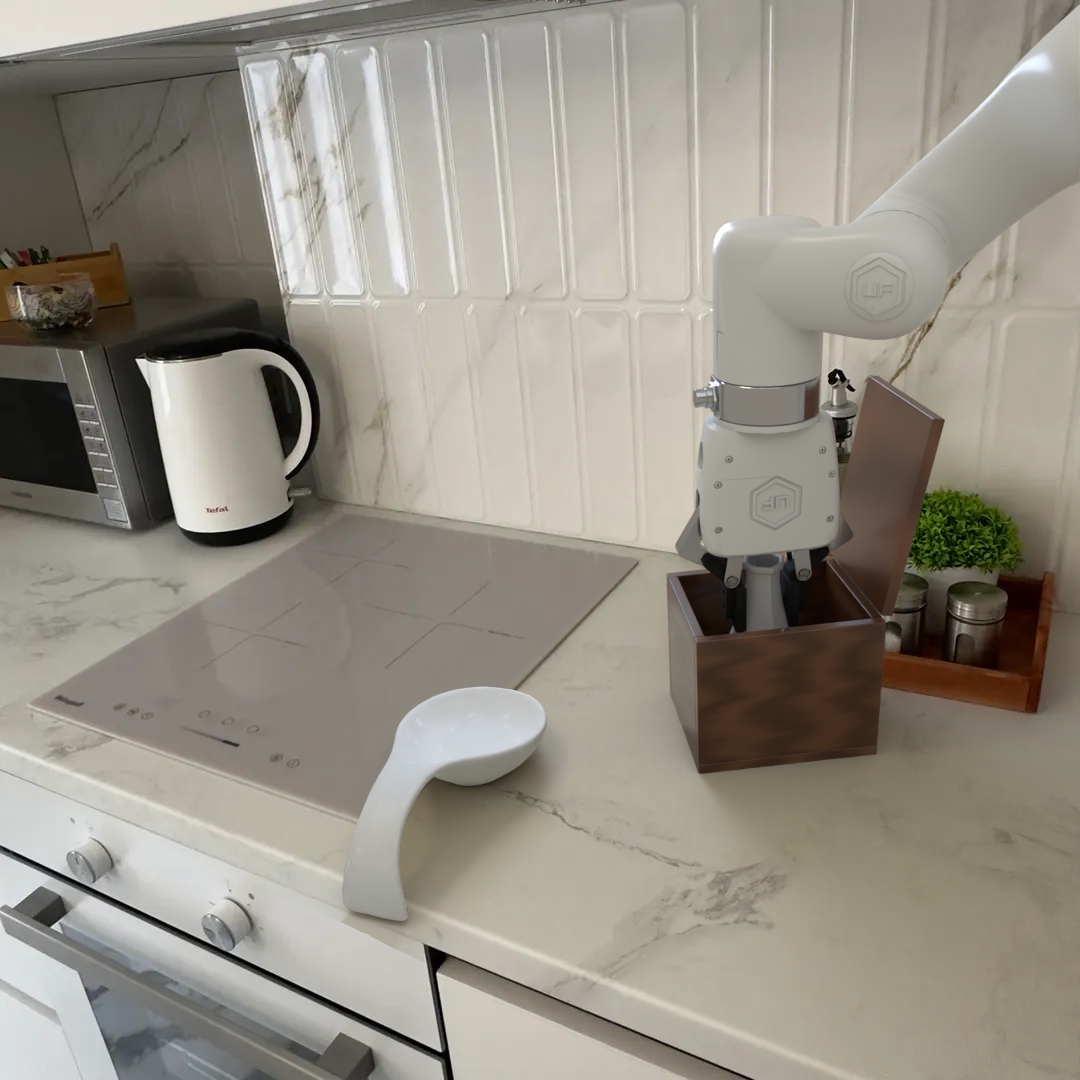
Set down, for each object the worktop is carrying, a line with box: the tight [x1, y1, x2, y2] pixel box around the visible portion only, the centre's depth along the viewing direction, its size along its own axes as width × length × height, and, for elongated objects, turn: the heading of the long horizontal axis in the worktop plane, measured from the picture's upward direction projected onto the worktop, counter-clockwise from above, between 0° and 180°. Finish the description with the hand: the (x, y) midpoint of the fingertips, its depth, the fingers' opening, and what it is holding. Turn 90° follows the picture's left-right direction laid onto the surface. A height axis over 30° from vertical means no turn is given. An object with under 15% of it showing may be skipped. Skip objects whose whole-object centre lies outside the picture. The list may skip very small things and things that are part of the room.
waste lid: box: [829, 374, 946, 617], centre depth 74 cm, size 15×12×1 cm
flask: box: [729, 553, 790, 634], centre depth 77 cm, size 7×7×10 cm
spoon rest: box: [342, 686, 548, 922], centre depth 73 cm, size 24×12×7 cm, turn 161°
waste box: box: [665, 555, 887, 774], centre depth 79 cm, size 14×12×12 cm
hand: (762, 619), depth 77 cm, fingers closed on flask, 3 cm apart
